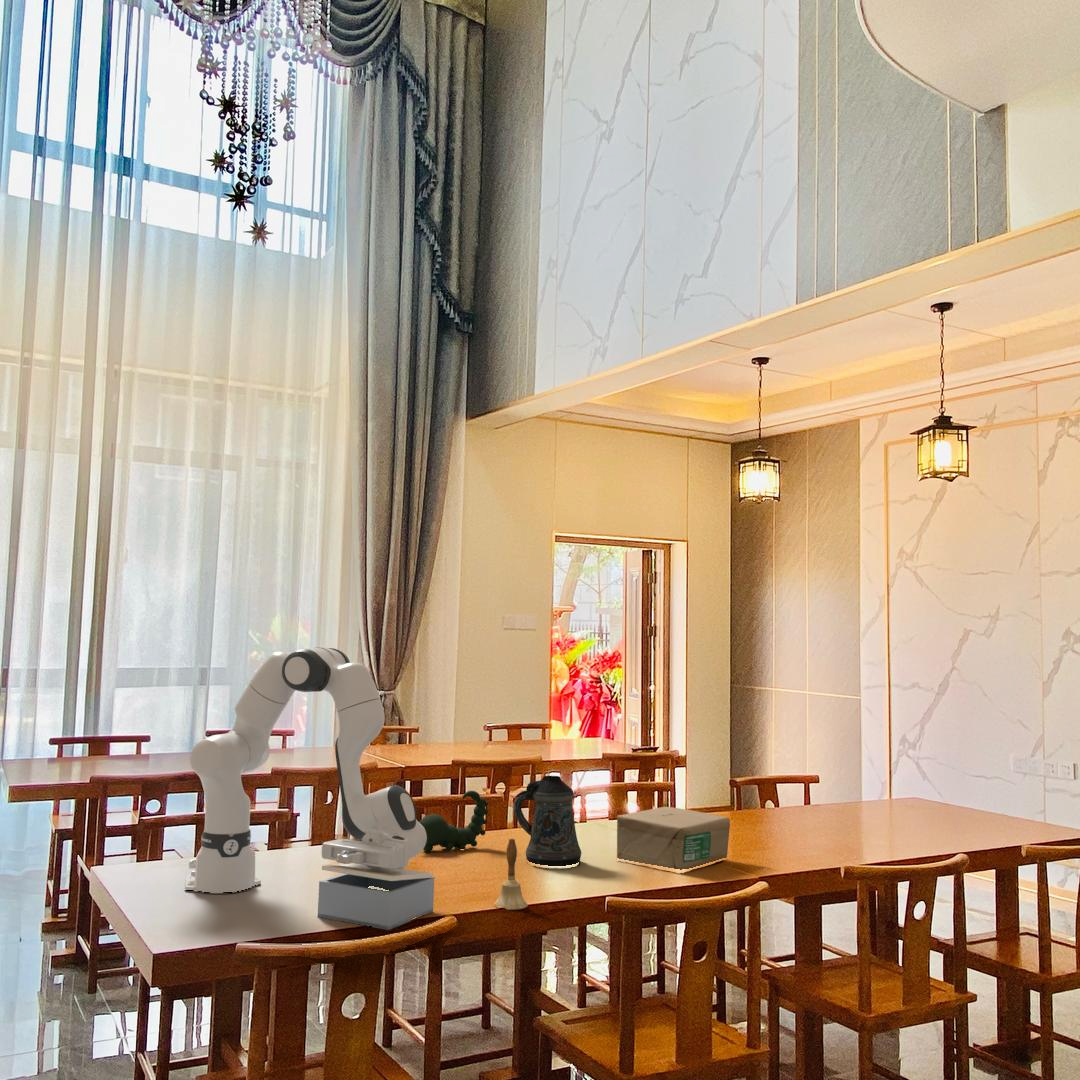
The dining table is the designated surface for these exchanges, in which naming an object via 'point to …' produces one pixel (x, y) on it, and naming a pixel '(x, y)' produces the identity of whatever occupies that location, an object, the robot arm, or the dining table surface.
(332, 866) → the lid
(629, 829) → the paper package
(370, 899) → the box
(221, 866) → the robot arm
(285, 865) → the dining table surface
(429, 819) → the toy figurine
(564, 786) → the beer stein
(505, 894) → the hand bell
